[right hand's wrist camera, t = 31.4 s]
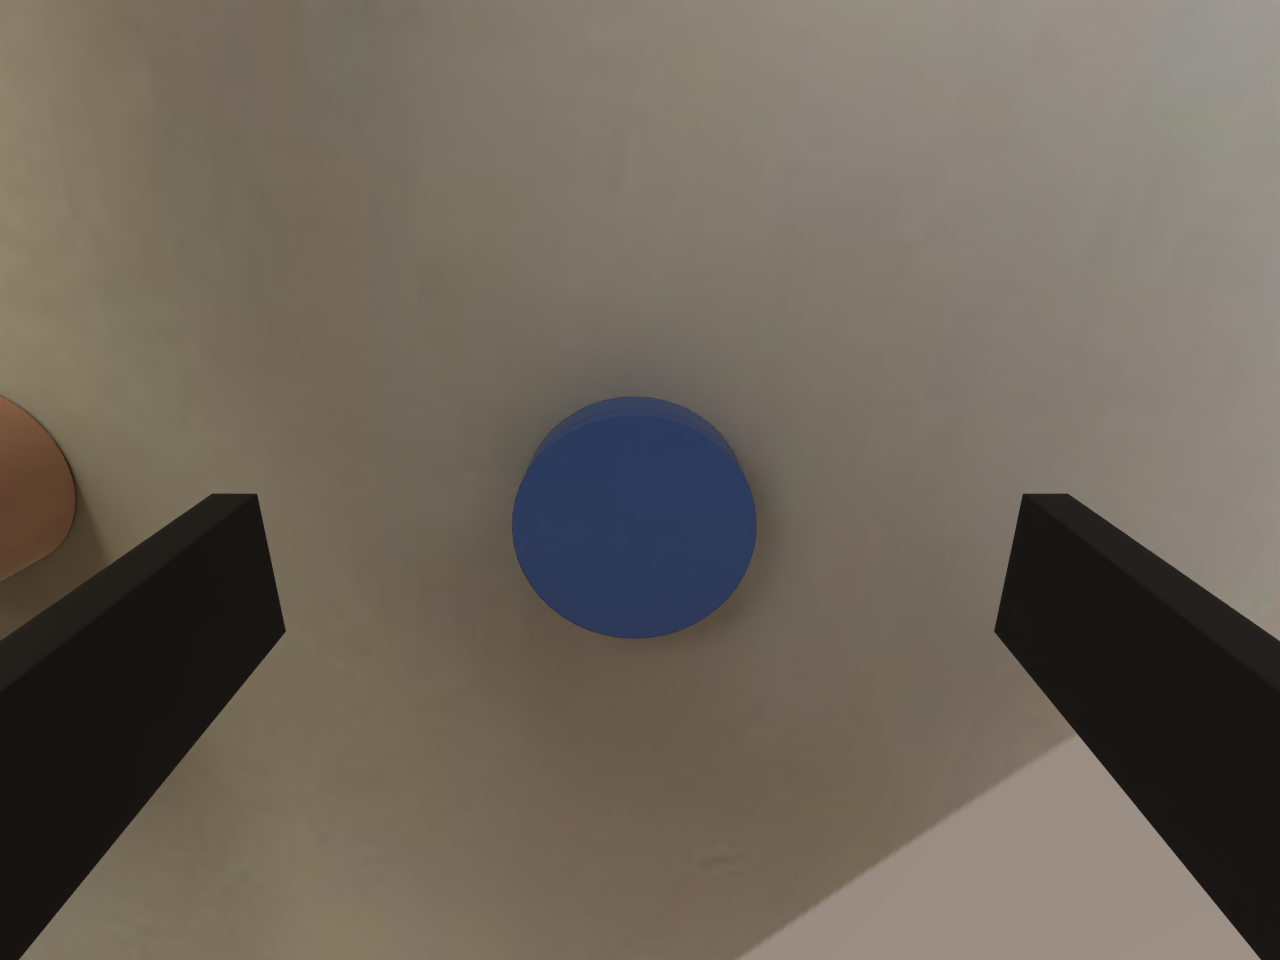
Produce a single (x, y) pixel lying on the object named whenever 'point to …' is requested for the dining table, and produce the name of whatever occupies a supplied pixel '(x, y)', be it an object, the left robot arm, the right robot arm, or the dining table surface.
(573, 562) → the lid
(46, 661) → the right robot arm
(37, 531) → the jar
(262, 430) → the dining table surface
